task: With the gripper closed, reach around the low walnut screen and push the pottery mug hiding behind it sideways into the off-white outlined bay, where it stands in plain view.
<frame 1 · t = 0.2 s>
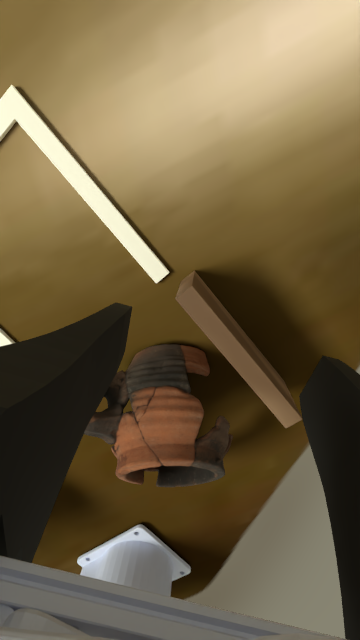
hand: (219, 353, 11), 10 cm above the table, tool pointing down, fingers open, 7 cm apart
bay outline: (34, 264, 21), on the table
walnut screen: (235, 333, 22), on the table
pottery mug: (160, 390, 24), on the table
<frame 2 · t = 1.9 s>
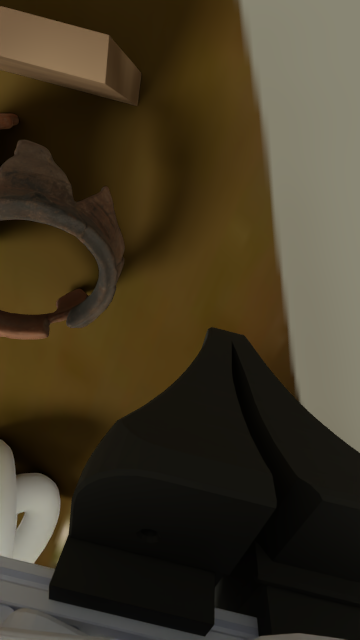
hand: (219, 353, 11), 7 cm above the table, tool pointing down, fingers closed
white knot: (6, 466, 28), on the table
walnut screen: (18, 57, 13), on the table
pottery mug: (33, 223, 17), on the table
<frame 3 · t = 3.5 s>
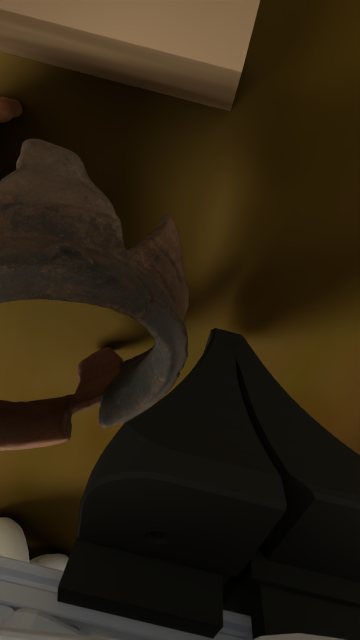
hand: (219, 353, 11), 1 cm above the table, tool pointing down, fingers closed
white knot: (17, 542, 24), on the table
walnut screen: (47, 37, 8), on the table
pottery mug: (43, 260, 12), on the table, touching gripper
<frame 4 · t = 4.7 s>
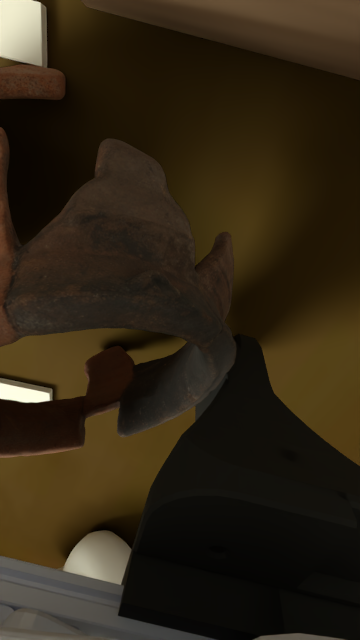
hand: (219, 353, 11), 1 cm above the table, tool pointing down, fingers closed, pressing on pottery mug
white knot: (107, 551, 23), on the table
walnut screen: (312, 33, 7), on the table
pottery mug: (61, 249, 11), on the table, touching bay outline, gripper
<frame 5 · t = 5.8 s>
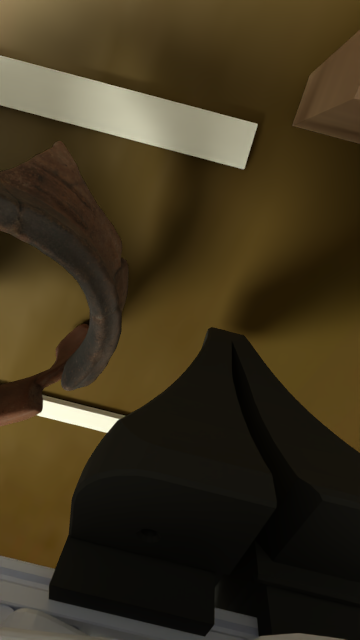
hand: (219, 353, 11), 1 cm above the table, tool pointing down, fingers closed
bay outline: (42, 288, 12), on the table
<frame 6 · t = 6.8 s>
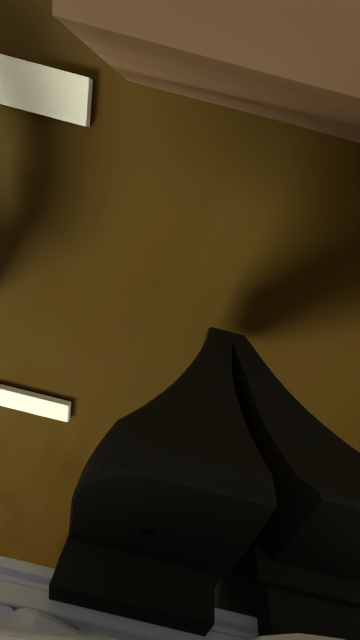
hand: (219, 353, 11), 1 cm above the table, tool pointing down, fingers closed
walnut screen: (318, 104, 8), on the table
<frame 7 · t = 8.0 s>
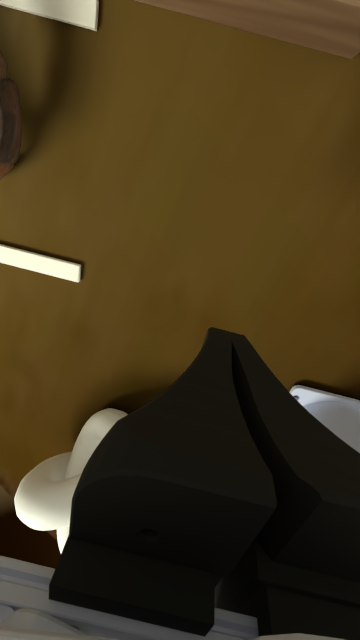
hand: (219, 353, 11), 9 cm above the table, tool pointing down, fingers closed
white knot: (111, 439, 29), on the table
walnut screen: (240, 10, 13), on the table
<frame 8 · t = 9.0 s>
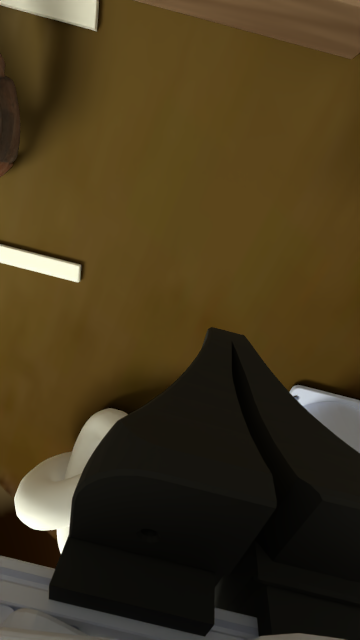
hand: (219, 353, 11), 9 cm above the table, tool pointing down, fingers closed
white knot: (111, 439, 29), on the table
walnut screen: (240, 10, 13), on the table
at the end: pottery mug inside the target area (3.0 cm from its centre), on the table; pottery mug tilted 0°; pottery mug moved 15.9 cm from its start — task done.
